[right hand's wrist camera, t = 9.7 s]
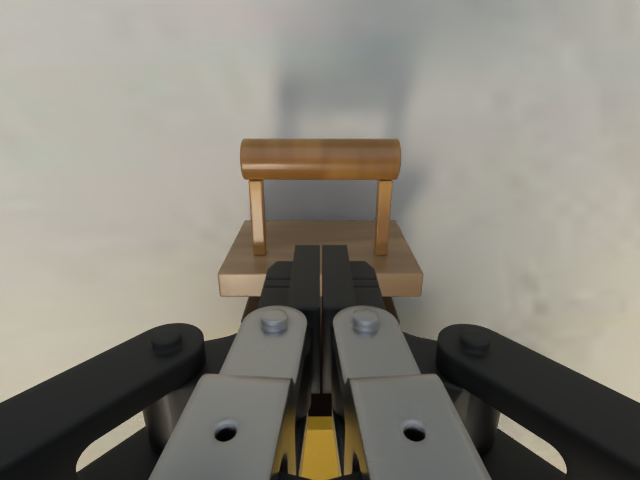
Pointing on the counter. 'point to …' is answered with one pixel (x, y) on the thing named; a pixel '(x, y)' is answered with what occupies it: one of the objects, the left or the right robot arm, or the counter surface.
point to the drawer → (320, 222)
